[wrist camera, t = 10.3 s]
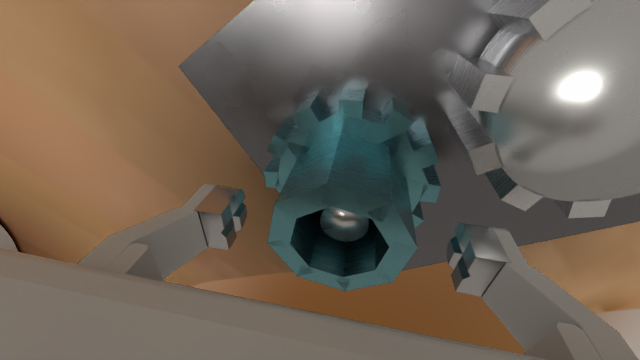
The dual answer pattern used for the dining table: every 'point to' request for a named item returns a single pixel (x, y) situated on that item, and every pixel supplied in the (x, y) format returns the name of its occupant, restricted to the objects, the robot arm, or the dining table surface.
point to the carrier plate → (454, 101)
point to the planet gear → (349, 189)
